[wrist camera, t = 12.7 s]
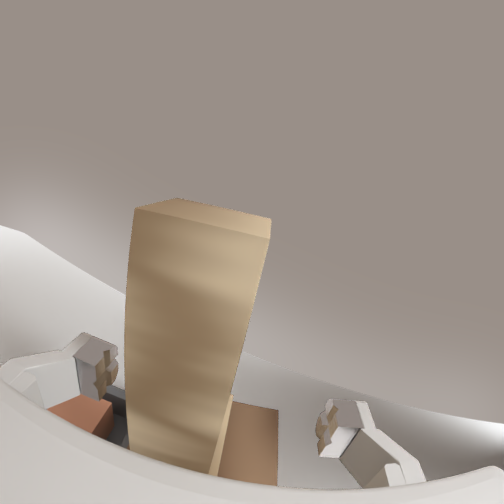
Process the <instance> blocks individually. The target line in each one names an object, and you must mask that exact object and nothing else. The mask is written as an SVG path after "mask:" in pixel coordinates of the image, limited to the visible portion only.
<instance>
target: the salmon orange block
mask: <svg viewBox="0 0 504 504" xmlns="http://www.w3.org/2000/svg"><path fill="white" fill-rule="evenodd" d="M47 410H48V411H50V412H52V413H53V414H55V415H57V416H59V417H60V418H62V419H64V420H66V421H68V422H70V423H71V424H73V425H75V426H77V427H79V428H81V429H83V430H85V431H87V432H89V433H91V434H93V435H96V436H98V437H100V438H102V439H104V440H106V439H107V437H108V436H109V434H110V432H111V431H112V429H113V427H114V426H115V425H114V418H113V409H112V403H111V402H109V401H106V400H104V399H101V400H100V401H99V402H98V401H96V400H94V399H91V398H89V397H87V396H85V395H82V394H80V395H79V396H76V397H74V398H72V399H69V400H67V401H65V402H62V403H60V404H57V405H55V406H52V407H50V408H48V409H47Z"/></svg>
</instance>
